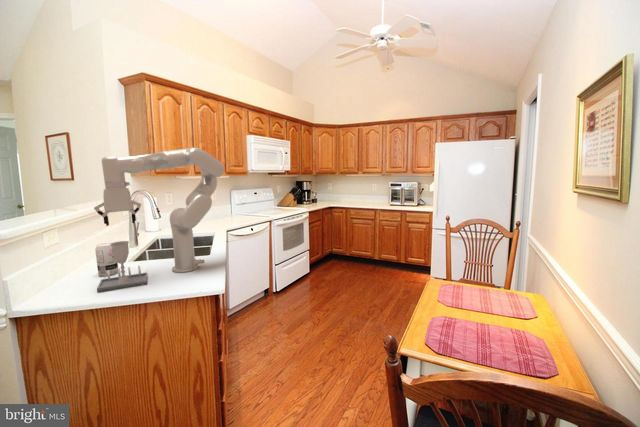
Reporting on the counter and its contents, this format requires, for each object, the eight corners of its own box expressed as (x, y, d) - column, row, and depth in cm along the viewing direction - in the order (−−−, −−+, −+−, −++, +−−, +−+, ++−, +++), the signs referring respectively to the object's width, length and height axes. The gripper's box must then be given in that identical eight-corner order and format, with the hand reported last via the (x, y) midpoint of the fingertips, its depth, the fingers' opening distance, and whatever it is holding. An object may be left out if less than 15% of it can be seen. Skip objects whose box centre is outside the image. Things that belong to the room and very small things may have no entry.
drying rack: (147, 276, 143) (146, 264, 142) (146, 284, 133) (145, 271, 132) (101, 283, 135) (100, 270, 134) (97, 292, 124) (95, 279, 123)
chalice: (121, 279, 137) (116, 241, 134) (136, 278, 138) (132, 240, 135) (111, 285, 130) (106, 245, 127) (127, 284, 130) (123, 244, 128)
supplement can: (101, 272, 149) (97, 243, 147) (120, 270, 153) (117, 241, 151) (96, 278, 142) (92, 247, 140) (116, 275, 145) (113, 245, 143)
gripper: (138, 184, 137) (143, 220, 140) (92, 186, 128) (98, 225, 131) (138, 184, 131) (143, 223, 133) (89, 187, 122) (95, 227, 125)
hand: (120, 224), depth 132 cm, fingers open, 9 cm apart
